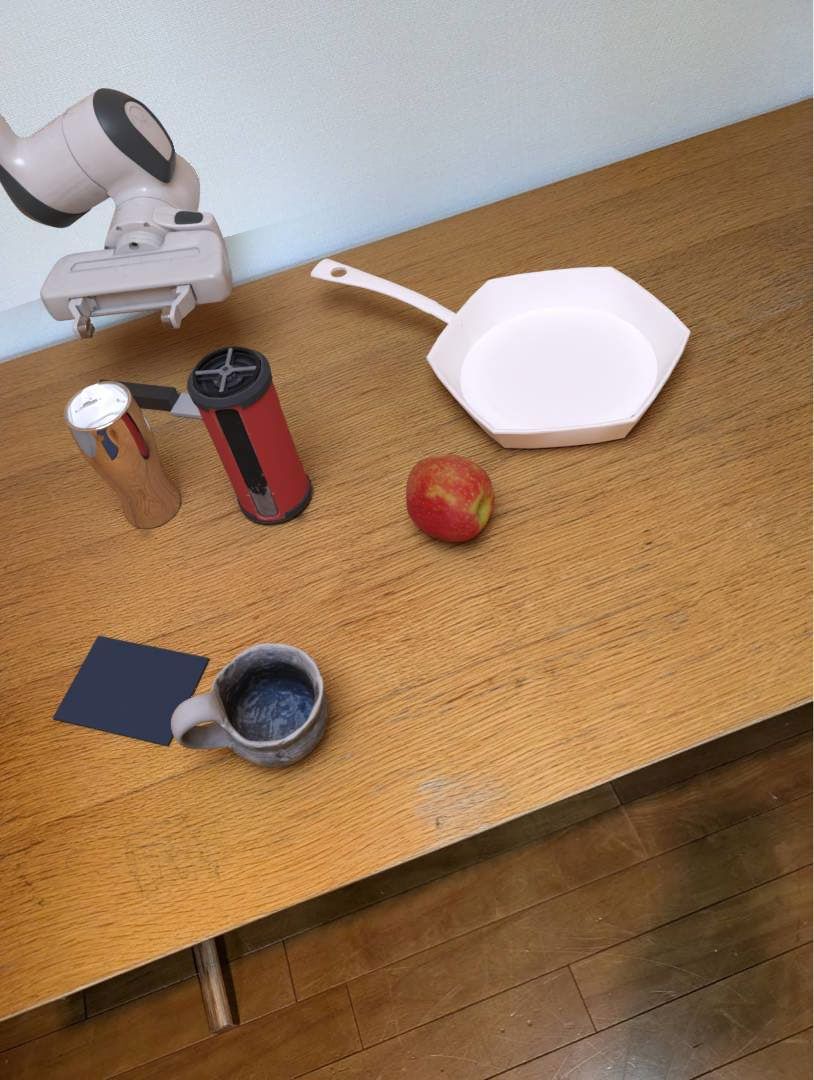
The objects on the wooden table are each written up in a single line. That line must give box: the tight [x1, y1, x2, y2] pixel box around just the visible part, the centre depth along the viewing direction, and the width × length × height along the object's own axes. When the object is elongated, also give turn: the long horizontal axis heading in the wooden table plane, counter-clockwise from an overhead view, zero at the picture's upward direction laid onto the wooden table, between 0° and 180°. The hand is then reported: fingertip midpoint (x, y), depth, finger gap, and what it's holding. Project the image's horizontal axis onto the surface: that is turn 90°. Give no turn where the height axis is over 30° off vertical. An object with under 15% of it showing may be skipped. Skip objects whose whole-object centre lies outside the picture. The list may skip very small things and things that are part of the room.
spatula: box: [98, 378, 203, 420], centre depth 113 cm, size 16×3×2 cm, turn 73°
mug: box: [171, 642, 329, 768], centre depth 81 cm, size 10×12×10 cm
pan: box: [310, 258, 691, 449], centre depth 108 cm, size 28×43×7 cm, turn 58°
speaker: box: [186, 345, 313, 525], centre depth 95 cm, size 8×8×18 cm
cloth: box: [52, 635, 210, 747], centre depth 91 cm, size 12×9×1 cm
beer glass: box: [63, 380, 182, 529], centre depth 99 cm, size 7×7×15 cm
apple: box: [405, 453, 495, 543], centre depth 94 cm, size 8×8×8 cm
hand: (125, 329), depth 101 cm, fingers open, 8 cm apart
